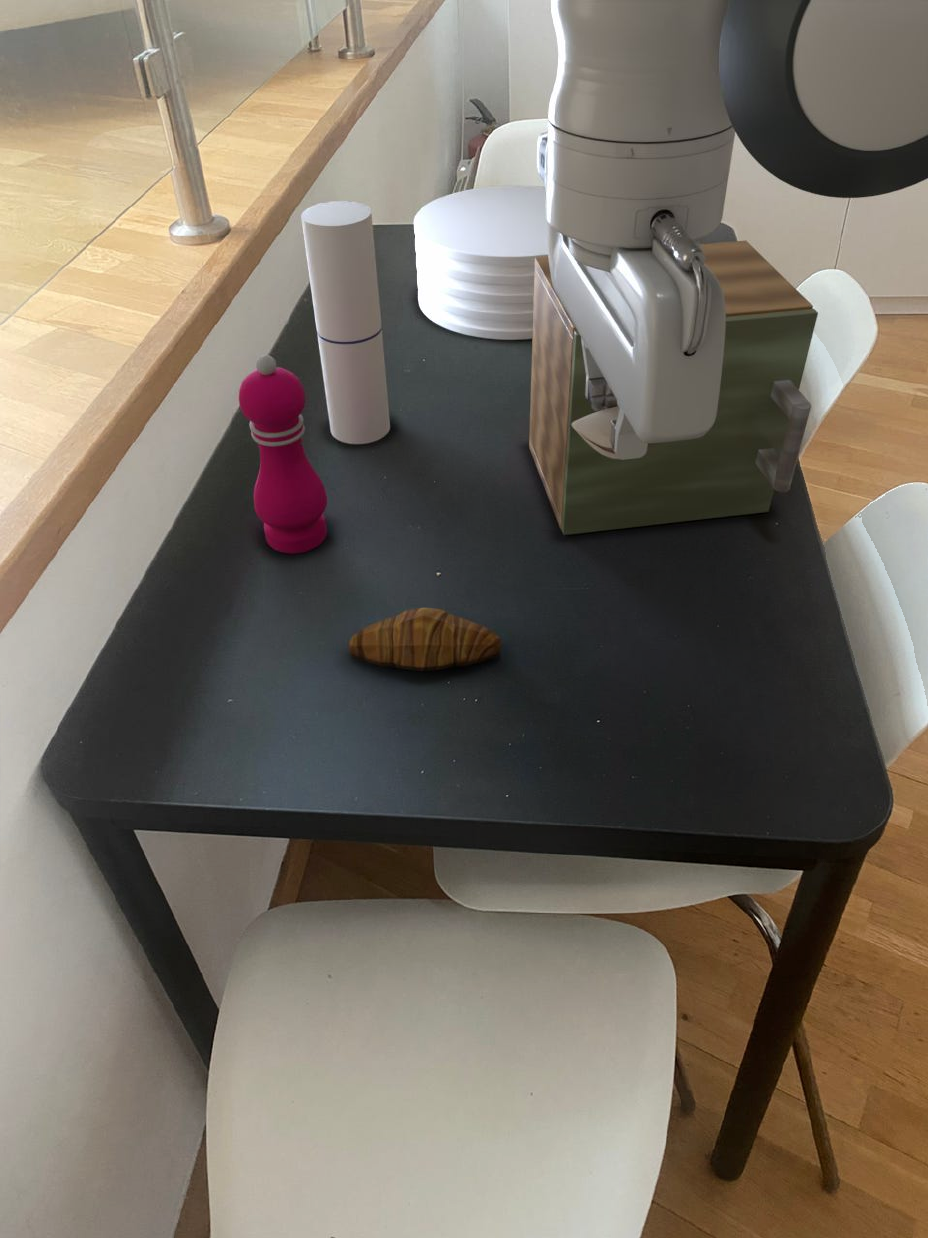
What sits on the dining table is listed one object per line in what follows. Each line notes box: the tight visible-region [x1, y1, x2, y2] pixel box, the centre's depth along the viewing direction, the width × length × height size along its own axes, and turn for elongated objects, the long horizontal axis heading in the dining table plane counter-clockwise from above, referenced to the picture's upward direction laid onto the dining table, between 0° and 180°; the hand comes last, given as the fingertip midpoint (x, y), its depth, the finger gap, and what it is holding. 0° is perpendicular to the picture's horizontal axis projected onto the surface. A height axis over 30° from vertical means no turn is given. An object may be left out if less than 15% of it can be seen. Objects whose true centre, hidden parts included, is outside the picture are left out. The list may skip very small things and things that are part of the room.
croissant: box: [348, 607, 503, 673], centre depth 80 cm, size 14×7×5 cm, turn 89°
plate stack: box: [413, 184, 548, 341], centre depth 133 cm, size 28×28×12 cm
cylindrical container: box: [300, 200, 391, 445], centre depth 102 cm, size 7×7×25 cm
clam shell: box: [572, 407, 652, 459], centre depth 55 cm, size 4×5×2 cm
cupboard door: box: [561, 308, 819, 536], centre depth 86 cm, size 6×22×22 cm, turn 99°
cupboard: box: [528, 240, 814, 531], centre depth 94 cm, size 16×22×22 cm
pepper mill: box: [238, 354, 328, 554], centre depth 88 cm, size 7×7×20 cm
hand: (613, 427), depth 55 cm, fingers closed on clam shell, 4 cm apart
